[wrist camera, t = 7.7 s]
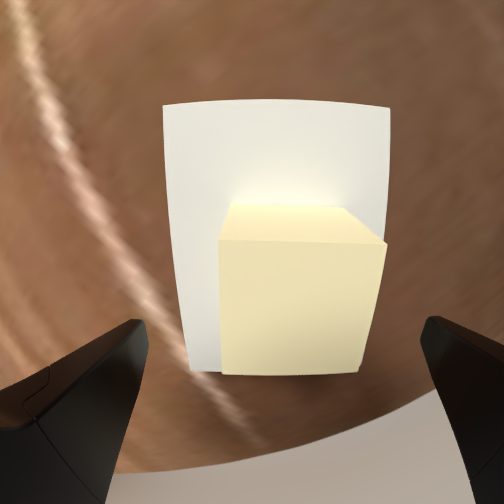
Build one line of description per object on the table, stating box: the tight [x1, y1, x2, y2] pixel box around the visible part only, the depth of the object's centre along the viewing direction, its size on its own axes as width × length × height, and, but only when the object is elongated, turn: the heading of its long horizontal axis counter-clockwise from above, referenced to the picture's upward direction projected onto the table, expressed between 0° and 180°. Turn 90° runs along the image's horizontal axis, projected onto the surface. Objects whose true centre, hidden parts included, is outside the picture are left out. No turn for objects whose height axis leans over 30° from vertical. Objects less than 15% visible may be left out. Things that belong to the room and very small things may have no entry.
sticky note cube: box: [218, 204, 387, 375], centre depth 12 cm, size 5×5×5 cm
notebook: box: [163, 99, 390, 372], centre depth 15 cm, size 10×14×2 cm
